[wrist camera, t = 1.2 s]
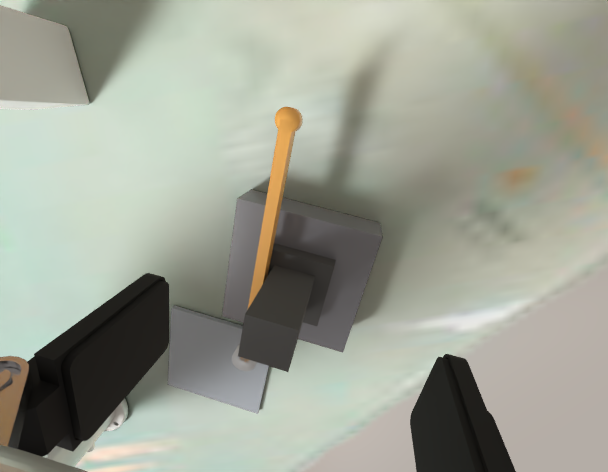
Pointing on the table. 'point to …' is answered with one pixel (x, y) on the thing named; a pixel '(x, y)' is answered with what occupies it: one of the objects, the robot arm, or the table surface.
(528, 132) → the table surface
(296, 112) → the orange rod with ball
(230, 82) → the table surface
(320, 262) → the plug
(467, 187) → the table surface
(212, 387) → the mat
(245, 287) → the socket
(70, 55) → the milk carton
